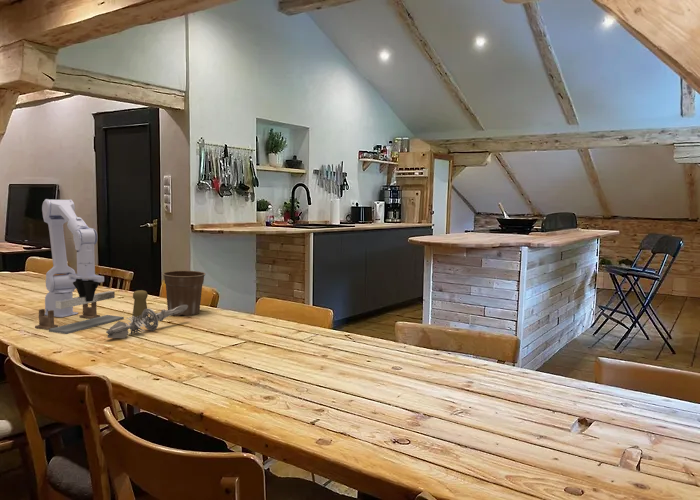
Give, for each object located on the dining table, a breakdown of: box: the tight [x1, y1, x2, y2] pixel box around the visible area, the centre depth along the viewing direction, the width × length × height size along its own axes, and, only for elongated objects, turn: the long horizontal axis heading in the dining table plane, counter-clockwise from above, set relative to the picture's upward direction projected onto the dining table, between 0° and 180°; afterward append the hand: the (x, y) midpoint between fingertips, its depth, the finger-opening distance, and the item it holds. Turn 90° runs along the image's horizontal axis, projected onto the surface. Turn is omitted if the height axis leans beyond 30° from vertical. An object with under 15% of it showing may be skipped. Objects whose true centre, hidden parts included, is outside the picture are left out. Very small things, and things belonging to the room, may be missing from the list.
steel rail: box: [56, 290, 116, 309], centre depth 199 cm, size 2×24×2 cm, turn 159°
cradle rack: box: [34, 302, 101, 331], centre depth 203 cm, size 6×23×6 cm, turn 159°
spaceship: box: [105, 305, 188, 339], centre depth 194 cm, size 8×35×8 cm
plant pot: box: [162, 270, 206, 317], centre depth 223 cm, size 16×16×16 cm
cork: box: [131, 289, 149, 320], centre depth 210 cm, size 6×6×11 cm
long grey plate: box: [48, 314, 125, 335], centre depth 200 cm, size 8×26×1 cm, turn 159°
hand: (86, 300), depth 199 cm, fingers closed on steel rail, 2 cm apart
